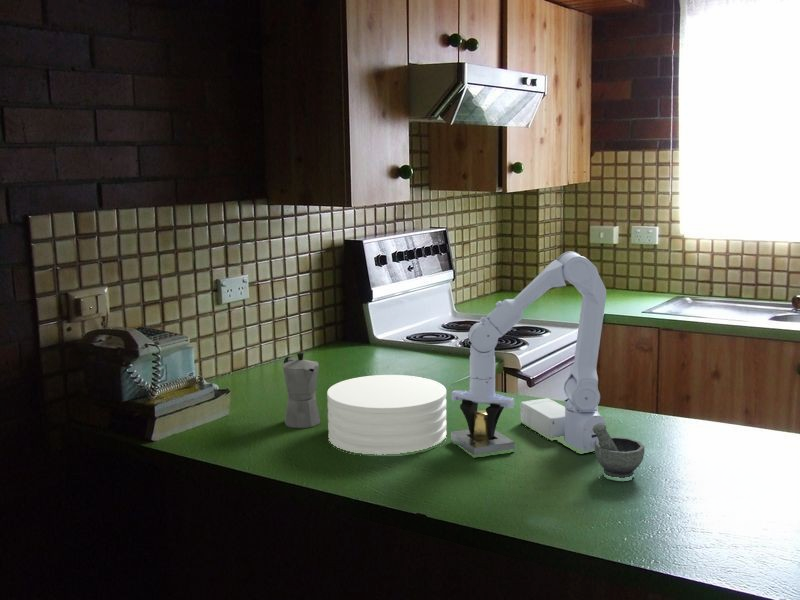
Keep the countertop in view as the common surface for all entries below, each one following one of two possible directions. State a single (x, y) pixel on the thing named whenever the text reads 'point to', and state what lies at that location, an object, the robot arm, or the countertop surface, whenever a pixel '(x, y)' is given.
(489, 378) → the robot arm
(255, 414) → the countertop surface
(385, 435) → the plate stack
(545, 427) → the skincare box
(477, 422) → the cylinder
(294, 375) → the coffeepot
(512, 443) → the jig
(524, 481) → the countertop surface
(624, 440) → the mortar and pestle
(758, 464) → the countertop surface
